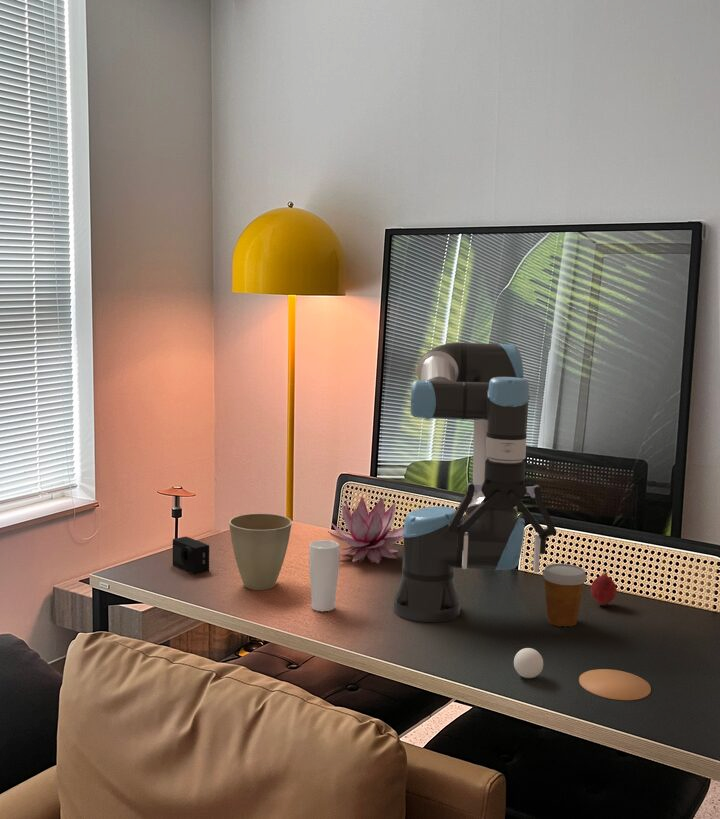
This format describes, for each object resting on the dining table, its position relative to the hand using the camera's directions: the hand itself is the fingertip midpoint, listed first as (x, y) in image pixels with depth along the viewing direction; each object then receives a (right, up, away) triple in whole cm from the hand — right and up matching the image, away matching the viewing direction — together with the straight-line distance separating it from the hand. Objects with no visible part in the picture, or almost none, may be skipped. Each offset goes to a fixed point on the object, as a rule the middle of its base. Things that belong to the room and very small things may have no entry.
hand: (500, 568), depth 177 cm
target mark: (+21, -21, -4) cm, 30 cm away
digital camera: (-70, -10, +58) cm, 91 cm away
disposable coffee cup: (+18, -17, +27) cm, 37 cm away
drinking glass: (-35, -15, +32) cm, 50 cm away
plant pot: (-51, -12, +46) cm, 70 cm away
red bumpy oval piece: (+30, -15, +39) cm, 51 cm away
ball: (+5, -18, -2) cm, 18 cm away
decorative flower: (-25, -9, +70) cm, 75 cm away
